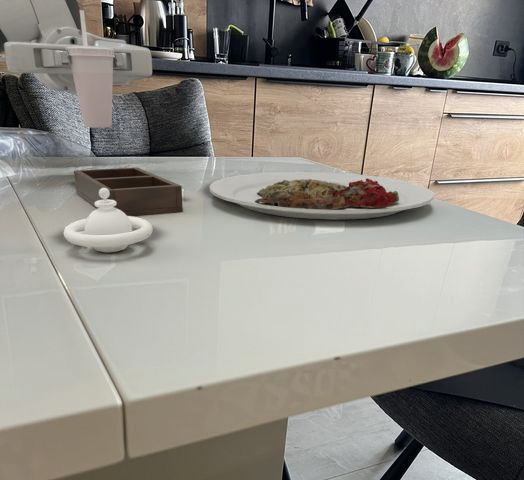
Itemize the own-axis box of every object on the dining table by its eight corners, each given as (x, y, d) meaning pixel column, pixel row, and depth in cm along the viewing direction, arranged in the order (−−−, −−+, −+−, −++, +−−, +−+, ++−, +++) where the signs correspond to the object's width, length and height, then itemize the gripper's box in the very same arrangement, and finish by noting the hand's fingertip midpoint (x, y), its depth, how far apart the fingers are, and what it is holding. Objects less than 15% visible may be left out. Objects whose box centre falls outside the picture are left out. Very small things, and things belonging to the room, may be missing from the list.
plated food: (214, 182, 88) (213, 160, 86) (398, 185, 89) (400, 163, 88) (203, 225, 61) (202, 194, 59) (467, 228, 62) (472, 198, 61)
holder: (109, 218, 63) (106, 190, 62) (76, 193, 77) (73, 170, 76) (182, 211, 67) (181, 185, 66) (139, 189, 81) (137, 167, 80)
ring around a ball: (48, 251, 51) (104, 269, 47) (37, 189, 48) (95, 201, 44) (116, 233, 56) (171, 247, 52) (110, 176, 54) (167, 186, 50)
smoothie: (71, 125, 79) (57, 11, 72) (116, 124, 81) (106, 14, 75) (78, 128, 73) (63, 6, 67) (126, 127, 76) (116, 10, 70)
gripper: (-8, 33, 78) (4, 26, 67) (133, 41, 87) (163, 36, 76) (0, 82, 80) (13, 83, 70) (136, 85, 90) (166, 86, 79)
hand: (93, 59), depth 73 cm, fingers closed on smoothie, 6 cm apart
